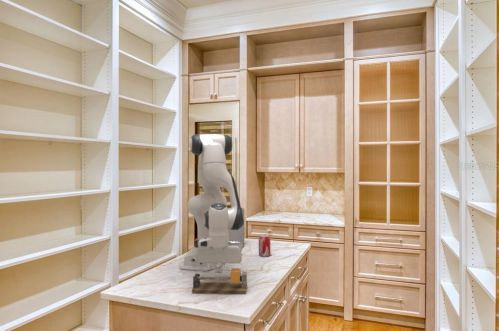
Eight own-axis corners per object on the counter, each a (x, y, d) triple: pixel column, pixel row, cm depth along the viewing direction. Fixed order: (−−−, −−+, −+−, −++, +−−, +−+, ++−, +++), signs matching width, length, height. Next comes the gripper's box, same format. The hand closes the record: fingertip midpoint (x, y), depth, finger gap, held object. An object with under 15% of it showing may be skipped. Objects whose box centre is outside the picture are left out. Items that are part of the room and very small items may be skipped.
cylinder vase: (221, 246, 217) (221, 209, 217) (233, 243, 227) (233, 206, 227) (236, 249, 209) (235, 210, 209) (248, 245, 219) (247, 208, 219)
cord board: (192, 293, 140) (191, 275, 140) (196, 285, 149) (196, 269, 149) (245, 294, 139) (245, 276, 139) (247, 286, 148) (247, 269, 148)
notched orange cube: (230, 282, 142) (230, 271, 142) (231, 279, 146) (231, 268, 146) (239, 283, 141) (239, 271, 141) (240, 279, 146) (240, 268, 146)
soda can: (256, 255, 196) (256, 235, 196) (264, 253, 201) (264, 233, 201) (264, 258, 191) (264, 237, 191) (272, 255, 196) (272, 235, 196)
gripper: (242, 239, 147) (242, 270, 147) (197, 239, 148) (197, 269, 148) (241, 243, 140) (241, 275, 141) (194, 242, 142) (194, 274, 142)
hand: (218, 272), depth 144 cm, fingers closed
